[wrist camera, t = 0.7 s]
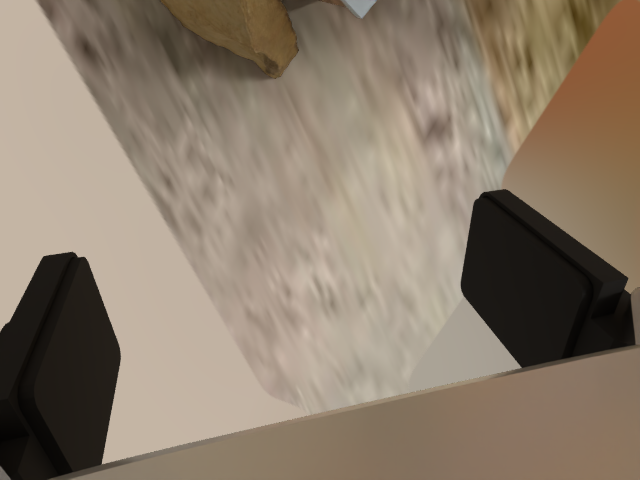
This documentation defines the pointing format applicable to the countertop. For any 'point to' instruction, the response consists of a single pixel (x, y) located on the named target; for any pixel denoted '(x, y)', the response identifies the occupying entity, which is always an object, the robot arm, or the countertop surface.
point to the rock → (242, 29)
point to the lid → (359, 6)
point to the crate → (334, 2)
